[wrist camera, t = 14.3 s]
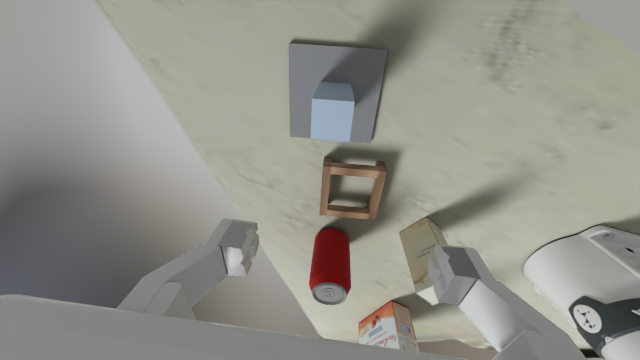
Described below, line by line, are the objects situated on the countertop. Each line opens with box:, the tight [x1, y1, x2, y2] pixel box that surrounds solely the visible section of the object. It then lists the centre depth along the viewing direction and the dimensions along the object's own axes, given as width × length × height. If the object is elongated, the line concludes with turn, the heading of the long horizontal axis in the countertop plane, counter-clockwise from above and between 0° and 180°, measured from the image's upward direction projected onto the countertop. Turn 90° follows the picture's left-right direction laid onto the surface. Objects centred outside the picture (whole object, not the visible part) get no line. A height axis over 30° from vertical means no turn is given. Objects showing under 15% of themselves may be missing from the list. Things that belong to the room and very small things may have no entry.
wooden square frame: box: [320, 157, 387, 220], centre depth 37 cm, size 9×9×3 cm
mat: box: [289, 43, 388, 143], centre depth 31 cm, size 12×12×1 cm
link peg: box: [311, 82, 355, 142], centre depth 27 cm, size 4×4×10 cm
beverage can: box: [309, 229, 351, 305], centre depth 40 cm, size 7×7×12 cm
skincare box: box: [399, 217, 448, 305], centre depth 38 cm, size 6×4×12 cm
